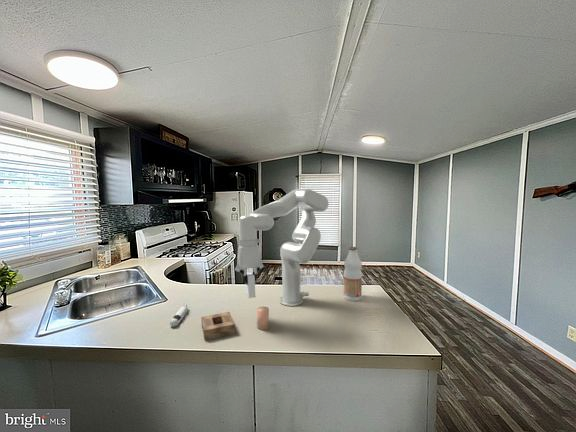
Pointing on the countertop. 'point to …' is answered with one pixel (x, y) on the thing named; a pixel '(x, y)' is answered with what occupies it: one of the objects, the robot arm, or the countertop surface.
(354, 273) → the fruit juice
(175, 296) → the countertop surface
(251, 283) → the flat bar peg
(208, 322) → the slot block
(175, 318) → the white long slotted part
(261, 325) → the round peg
